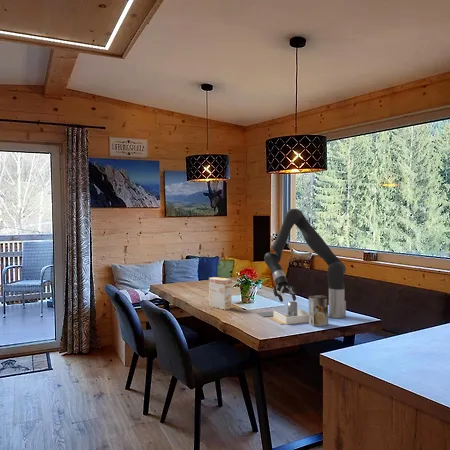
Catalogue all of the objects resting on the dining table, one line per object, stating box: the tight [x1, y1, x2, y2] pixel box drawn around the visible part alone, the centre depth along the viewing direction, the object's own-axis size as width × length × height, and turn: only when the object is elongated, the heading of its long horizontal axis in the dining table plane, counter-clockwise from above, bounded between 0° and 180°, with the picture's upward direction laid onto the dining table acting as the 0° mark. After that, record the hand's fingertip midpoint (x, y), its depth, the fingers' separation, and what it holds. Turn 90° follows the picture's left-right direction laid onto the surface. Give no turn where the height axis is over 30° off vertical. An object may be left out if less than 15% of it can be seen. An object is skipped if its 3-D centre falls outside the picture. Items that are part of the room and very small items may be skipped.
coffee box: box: [308, 294, 329, 327], centre depth 244 cm, size 9×6×16 cm
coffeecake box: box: [208, 276, 233, 311], centre depth 288 cm, size 15×7×20 cm, turn 44°
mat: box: [256, 311, 274, 318], centre depth 268 cm, size 10×10×1 cm
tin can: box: [287, 301, 298, 317], centre depth 256 cm, size 6×6×10 cm
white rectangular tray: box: [268, 308, 309, 325], centre depth 257 cm, size 23×18×4 cm
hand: (288, 300), depth 260 cm, fingers open, 8 cm apart
